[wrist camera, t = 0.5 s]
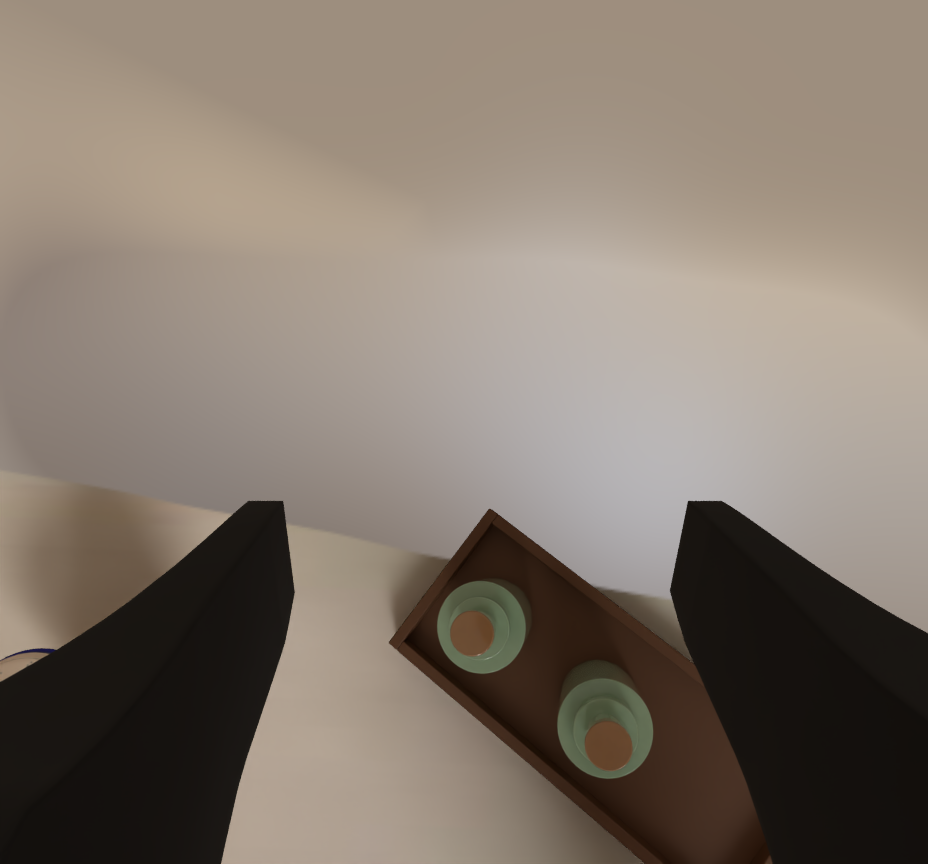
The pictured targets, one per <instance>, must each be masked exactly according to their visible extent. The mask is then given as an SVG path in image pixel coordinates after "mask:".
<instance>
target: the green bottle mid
mask: <svg viewBox="0 0 928 864" xmlns="http://www.w3.org/2000/svg"><path fill="white" fill-rule="evenodd" d="M557 729H558V736H559V740H560V743H561V746H562V748H563V750H564V752H565V753H566V755H567V757H568V758H569V759H570V760H571V762H572V763H573V764H575V765H576V766H577V767H578V768H579V769H581V770H582V771H584V772H585V773H587V774H589V775H592V776H595V777H599V778H605V779H613V778H619V777H622V776H625V775H627V774H630V773H631V772H633V771H634V770H636V769H637V768H638V767H639V766H640V765H641V764H642V763H643V762H644V760H645V759H646V757H647V756H648V754H649V751H650V749H651V745H652V741H653V723H652V719H651V715H650V713H649V710H648V708H647V706H646V704H645V702H644V700H643V698H642V697H641V695H640V693H639V691H638V689H637V687H636V685H635V683H634V681H633V680H632V678H631V677H630V676H629V674H628V673H627V672H626V671H625V670H623V669H622V668H621V667H619V666H618V665H616V664H614V663H611V662H609V661H604V660H590V661H586V662H583V663H581V664H579V665H577V666H576V667H574V668H573V669H572V670H571V671H570V672H569V673H568V674H567V676H566V677H565V679H564V681H563V683H562V686H561V689H560V695H559V707H558V719H557Z"/></svg>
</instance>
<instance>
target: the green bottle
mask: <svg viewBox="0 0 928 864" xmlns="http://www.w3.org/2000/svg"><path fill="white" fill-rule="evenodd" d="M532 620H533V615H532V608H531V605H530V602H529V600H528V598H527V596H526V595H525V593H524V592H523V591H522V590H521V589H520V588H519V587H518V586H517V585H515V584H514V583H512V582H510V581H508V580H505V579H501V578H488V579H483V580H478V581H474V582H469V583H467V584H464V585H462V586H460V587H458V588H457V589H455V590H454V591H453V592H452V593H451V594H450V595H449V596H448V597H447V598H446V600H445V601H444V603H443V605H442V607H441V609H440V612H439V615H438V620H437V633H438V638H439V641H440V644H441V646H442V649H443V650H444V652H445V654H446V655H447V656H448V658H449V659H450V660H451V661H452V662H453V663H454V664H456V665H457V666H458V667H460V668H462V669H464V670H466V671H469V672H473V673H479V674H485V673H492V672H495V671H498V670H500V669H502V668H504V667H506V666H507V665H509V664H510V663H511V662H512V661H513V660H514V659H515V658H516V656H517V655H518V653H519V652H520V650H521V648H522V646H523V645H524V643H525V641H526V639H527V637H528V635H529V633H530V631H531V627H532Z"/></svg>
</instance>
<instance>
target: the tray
mask: <svg viewBox="0 0 928 864" xmlns="http://www.w3.org/2000/svg"><path fill="white" fill-rule="evenodd" d="M488 578H501V579H505V580H508V581H510V582H512V583H514V584H515V585H517V586H518V587H519V588H520V589H521V590H522V591H523V592H524V593H525V595H526V596H527V598H528V600H529V602H530V605H531V608H532V615H533V620H532V627H531V631H530V633H529V635H528V637H527V639H526V641H525V643H524V645H523V646H522V648H521V650H520V652H519V653H518V655H517V656H516V658H515V659H514V660H513V661H512V662H511V663H510V664H509V665H507V666H506V667H504V668H502V669H500V670H498V671H495V672H492V673H485V674H479V673H473V672H469V671H466V670H464V669H462V668H460V667H458V666H457V665H456V664H454V663H453V662H452V661H451V660H450V659H449V658H448V656H447V655H446V654H445V652H444V650H443V649H442V646H441V644H440V641H439V638H438V633H437V620H438V615H439V612H440V609H441V607H442V605H443V603H444V601H445V600H446V598H447V597H448V596H449V595H450V594H451V593H452V592H453V591H454V590H455V589H457V588H458V587H460V586H462V585H464V584H467V583H469V582H474V581H478V580H483V579H488ZM389 644H390V645H392V646H393V647H394V648H395V649H397V651H399V652H400V653H401V654H402V655H403V656H404V657H406V658H407V659H408V660H409V661H410V662H411V663H412V664H414V665H415V666H416V667H417V668H418V669H419V670H421V671H422V672H423V673H424V674H425V675H426V676H428V677H429V678H430V679H431V680H432V681H433V682H435V683H436V684H437V685H438V686H439V687H440V688H442V689H443V690H444V691H445V692H446V693H447V694H449V695H450V696H451V697H452V698H453V699H454V700H456V701H457V702H458V703H459V704H460V705H461V706H462V707H464V708H465V709H466V710H467V711H468V712H469V713H471V714H472V715H473V716H474V717H475V718H476V719H478V720H479V721H480V722H481V723H482V724H483V725H485V726H486V727H487V728H488V729H489V730H490V731H492V732H493V733H494V734H495V735H496V736H497V737H499V738H500V739H501V740H502V741H503V742H504V743H506V744H507V745H508V746H509V747H510V748H511V749H513V750H514V751H515V752H516V753H517V754H518V755H519V756H521V757H522V758H523V759H524V760H525V761H526V762H528V763H529V764H530V765H531V766H532V767H533V768H535V769H536V770H537V771H538V772H539V773H540V774H542V775H543V776H544V777H545V778H546V779H547V780H549V781H550V782H551V783H552V784H553V785H554V786H556V787H557V788H558V789H559V790H560V791H561V792H563V793H564V794H565V795H566V796H567V797H568V798H569V799H571V800H572V801H573V802H574V803H575V804H576V805H578V806H579V807H580V808H581V809H582V810H583V811H585V812H586V813H587V814H588V815H589V816H590V817H592V818H593V819H594V820H595V821H596V822H597V823H599V824H600V825H601V826H602V827H603V828H604V829H606V830H607V831H608V832H609V833H610V834H611V835H613V836H614V837H615V838H616V839H617V840H618V841H619V842H621V843H622V844H623V845H624V846H625V847H626V848H628V849H629V850H630V851H631V852H632V853H633V854H635V855H636V856H637V857H638V858H639V859H640V860H642V861H643V862H644V863H645V864H773V863H772V860H771V856H770V853H769V850H768V847H767V843H766V840H765V837H764V834H763V831H762V828H761V825H760V822H759V819H758V816H757V813H756V810H755V807H754V804H753V801H752V798H751V795H750V792H749V789H748V786H747V783H746V780H745V778H744V775H743V773H742V770H741V768H740V765H739V763H738V760H737V758H736V755H735V753H734V751H733V748H732V746H731V744H730V742H729V740H728V737H727V735H726V733H725V731H724V728H723V726H722V724H721V722H720V720H719V717H718V715H717V713H716V711H715V709H714V706H713V704H712V702H711V700H710V697H709V695H708V693H707V691H706V689H705V686H704V684H703V682H702V680H701V677H700V675H699V673H698V671H697V668H696V666H695V664H693V663H692V662H691V661H690V660H688V659H687V658H686V657H684V656H683V655H682V654H680V653H679V652H678V651H676V650H675V649H674V648H673V647H671V646H670V645H669V644H667V643H666V642H665V641H663V640H662V639H661V638H659V637H658V636H657V635H655V634H654V633H653V632H652V631H650V630H649V629H648V628H646V627H645V626H644V625H642V624H641V623H640V622H638V621H637V620H636V619H635V618H633V617H632V616H631V615H629V614H628V613H627V612H625V611H624V610H623V609H621V608H620V607H619V606H617V605H616V604H615V603H614V602H612V601H611V600H610V599H608V598H607V597H606V596H604V595H603V594H602V593H600V592H599V591H598V590H597V589H595V588H594V587H593V586H591V585H590V584H589V583H587V582H586V581H585V580H583V579H582V578H581V577H579V576H578V575H577V574H576V573H574V572H573V571H571V570H570V569H569V568H568V567H566V566H565V565H564V564H562V563H561V562H560V561H559V560H557V559H556V558H555V557H553V556H552V555H551V554H549V553H548V552H547V551H545V550H544V549H543V548H542V547H540V546H539V545H538V544H536V543H535V542H534V541H532V540H531V539H530V538H528V537H527V536H526V535H524V534H523V533H522V532H520V531H519V530H518V529H517V528H515V527H514V526H513V525H511V524H510V523H509V522H507V521H506V520H505V519H503V518H502V517H501V516H500V515H498V514H497V513H496V512H494V511H493V510H491V509H489V510H488V511H487V512H486V514H485V515H484V516H483V518H482V519H481V520H480V522H479V523H478V524H477V526H476V527H475V528H474V530H473V531H472V532H471V534H470V535H469V536H468V538H467V539H466V540H465V542H464V543H463V544H462V546H461V547H460V548H459V550H458V551H457V552H456V554H455V555H454V556H453V557H452V559H451V560H450V561H449V563H448V564H447V565H446V567H445V568H444V569H443V571H442V572H441V573H440V575H439V576H438V577H437V579H436V580H435V581H434V583H433V584H432V585H431V587H430V588H429V589H428V591H427V592H426V593H425V595H424V596H423V597H422V599H421V600H420V601H419V603H418V604H417V605H416V607H415V608H414V609H413V611H412V612H411V613H410V615H409V616H408V617H407V619H406V620H405V621H404V623H403V624H402V625H401V627H400V628H399V629H398V631H397V632H396V633H395V635H394V636H393V637H392V639H391V640H390V641H389ZM590 660H604V661H609V662H611V663H614V664H616V665H618V666H619V667H621V668H622V669H623V670H625V671H626V672H627V673H628V674H629V676H630V677H631V678H632V680H633V681H634V683H635V685H636V687H637V689H638V691H639V693H640V695H641V697H642V698H643V700H644V702H645V704H646V706H647V708H648V710H649V713H650V715H651V719H652V723H653V741H652V745H651V749H650V751H649V754H648V756H647V757H646V759H645V760H644V762H643V763H642V764H641V765H640V766H639V767H638V768H637V769H636V770H634V771H633V772H631V773H630V774H627V775H625V776H622V777H619V778H613V779H605V778H599V777H595V776H592V775H589V774H587V773H585V772H584V771H582V770H581V769H579V768H578V767H577V766H576V765H575V764H573V763H572V762H571V760H570V759H569V758H568V757H567V755H566V753H565V752H564V750H563V748H562V746H561V743H560V740H559V736H558V729H557V719H558V707H559V695H560V689H561V686H562V683H563V681H564V679H565V677H566V676H567V674H568V673H569V672H570V671H571V670H572V669H573V668H574V667H576V666H577V665H579V664H581V663H583V662H586V661H590Z"/></svg>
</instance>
